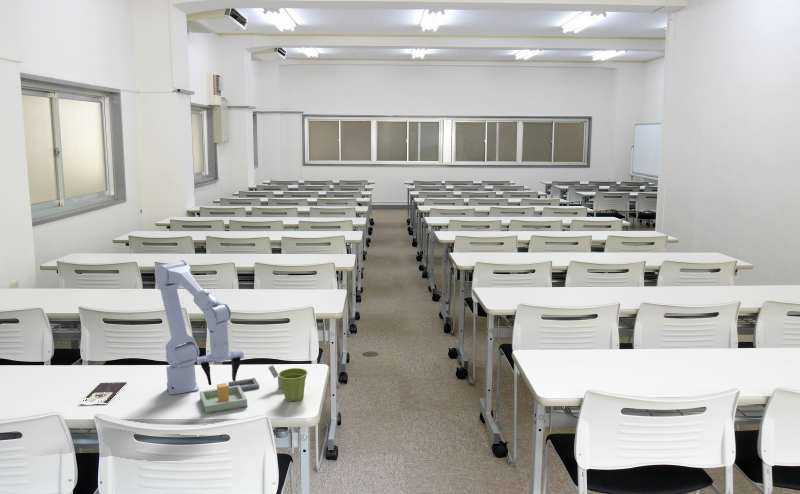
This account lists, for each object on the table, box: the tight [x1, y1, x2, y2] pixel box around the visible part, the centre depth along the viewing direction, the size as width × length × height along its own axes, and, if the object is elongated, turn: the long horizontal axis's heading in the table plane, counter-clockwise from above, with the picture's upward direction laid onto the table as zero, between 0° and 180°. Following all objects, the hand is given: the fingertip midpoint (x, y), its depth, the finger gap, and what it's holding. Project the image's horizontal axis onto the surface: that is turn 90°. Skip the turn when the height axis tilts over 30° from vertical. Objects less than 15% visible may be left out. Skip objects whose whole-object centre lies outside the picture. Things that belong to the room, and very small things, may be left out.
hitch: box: [227, 377, 260, 392], centre depth 237 cm, size 9×7×1 cm
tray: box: [199, 385, 248, 415], centre depth 224 cm, size 13×13×3 cm
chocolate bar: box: [82, 381, 127, 404], centre depth 233 cm, size 9×1×18 cm
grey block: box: [268, 364, 283, 389], centre depth 236 cm, size 7×2×8 cm, turn 93°
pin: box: [216, 382, 229, 403], centre depth 223 cm, size 3×3×6 cm
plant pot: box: [278, 367, 308, 402], centre depth 226 cm, size 9×9×9 cm
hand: (221, 382), depth 223 cm, fingers open, 7 cm apart
